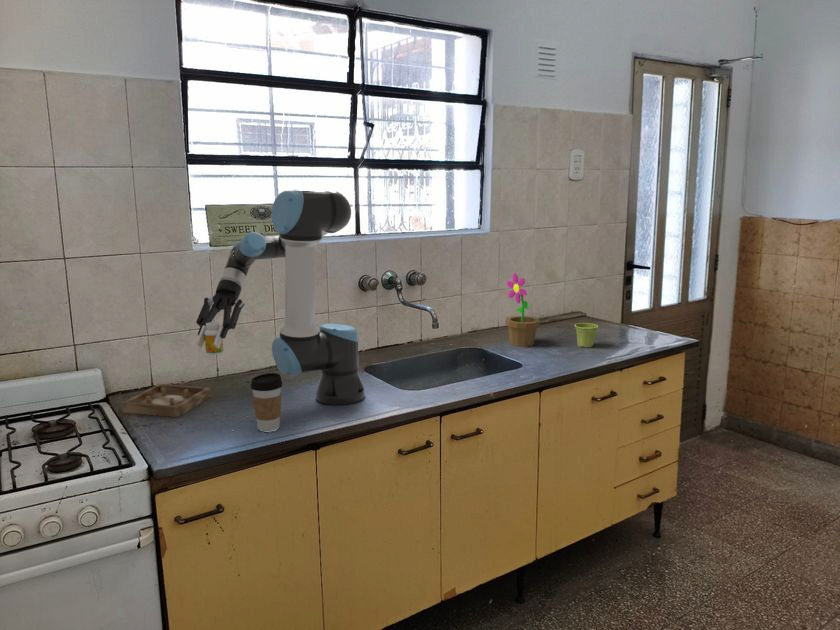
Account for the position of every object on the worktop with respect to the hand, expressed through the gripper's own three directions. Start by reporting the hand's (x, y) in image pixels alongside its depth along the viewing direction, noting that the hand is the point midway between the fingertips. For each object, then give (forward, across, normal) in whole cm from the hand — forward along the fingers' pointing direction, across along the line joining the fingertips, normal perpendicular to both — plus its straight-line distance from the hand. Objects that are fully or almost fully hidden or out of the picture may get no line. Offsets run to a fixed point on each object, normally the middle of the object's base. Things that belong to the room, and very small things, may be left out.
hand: (207, 345), depth 202 cm
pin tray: (+19, +8, -3) cm, 21 cm away
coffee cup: (+26, -30, +4) cm, 41 cm away
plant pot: (-52, -116, -77) cm, 149 cm away
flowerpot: (-50, -91, -75) cm, 128 cm away
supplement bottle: (0, 0, -5) cm, 5 cm away
